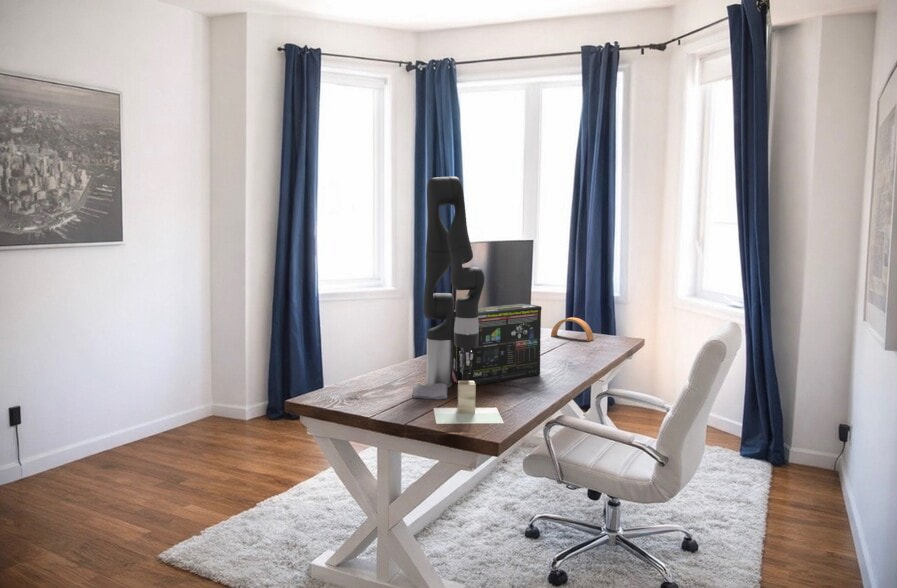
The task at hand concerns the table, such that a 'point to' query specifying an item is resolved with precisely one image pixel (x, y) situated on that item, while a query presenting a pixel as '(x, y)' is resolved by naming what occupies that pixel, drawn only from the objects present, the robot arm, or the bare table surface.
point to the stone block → (430, 391)
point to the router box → (503, 344)
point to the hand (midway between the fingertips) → (465, 385)
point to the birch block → (466, 396)
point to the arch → (577, 320)
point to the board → (467, 416)
